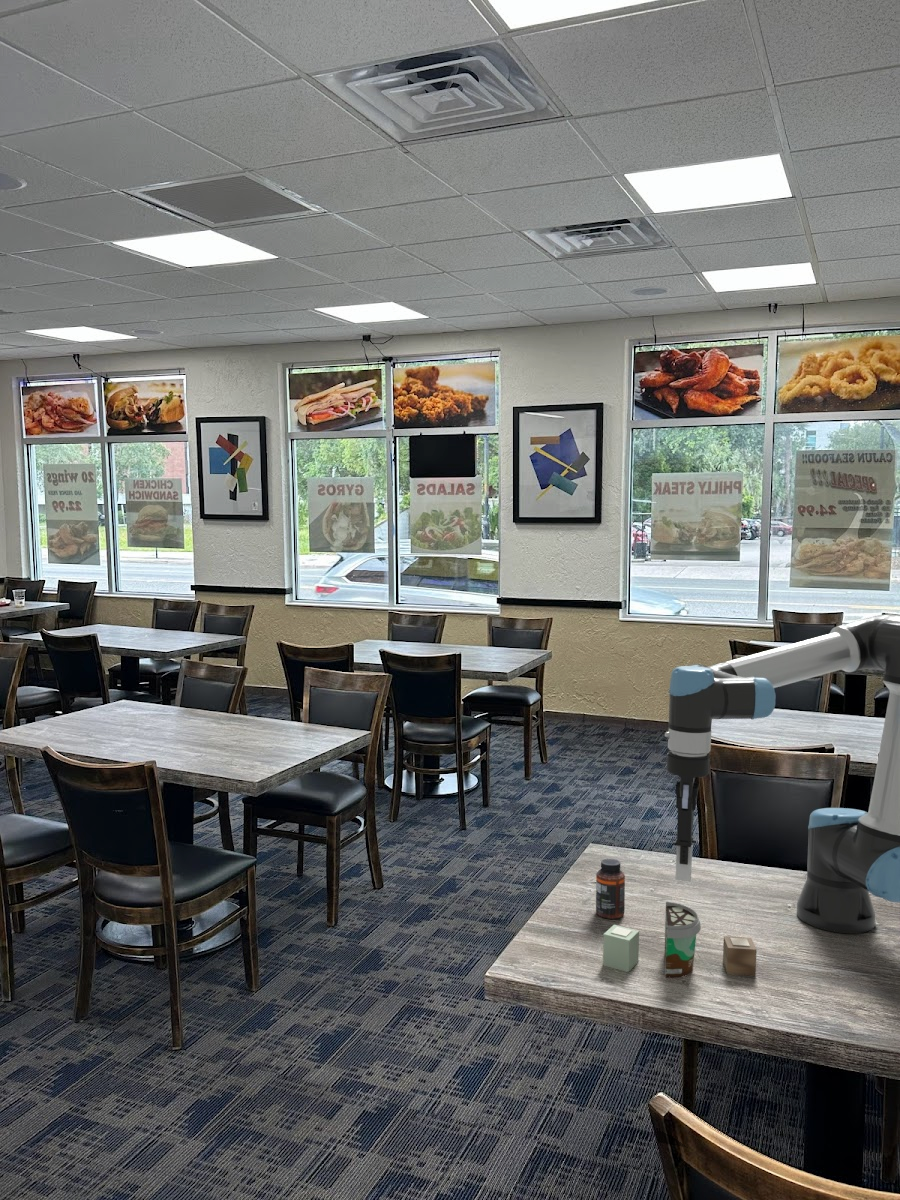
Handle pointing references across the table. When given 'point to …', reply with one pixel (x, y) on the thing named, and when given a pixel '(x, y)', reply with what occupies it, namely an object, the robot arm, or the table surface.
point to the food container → (680, 939)
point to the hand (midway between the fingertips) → (683, 879)
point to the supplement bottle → (610, 890)
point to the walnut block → (739, 956)
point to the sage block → (621, 948)
